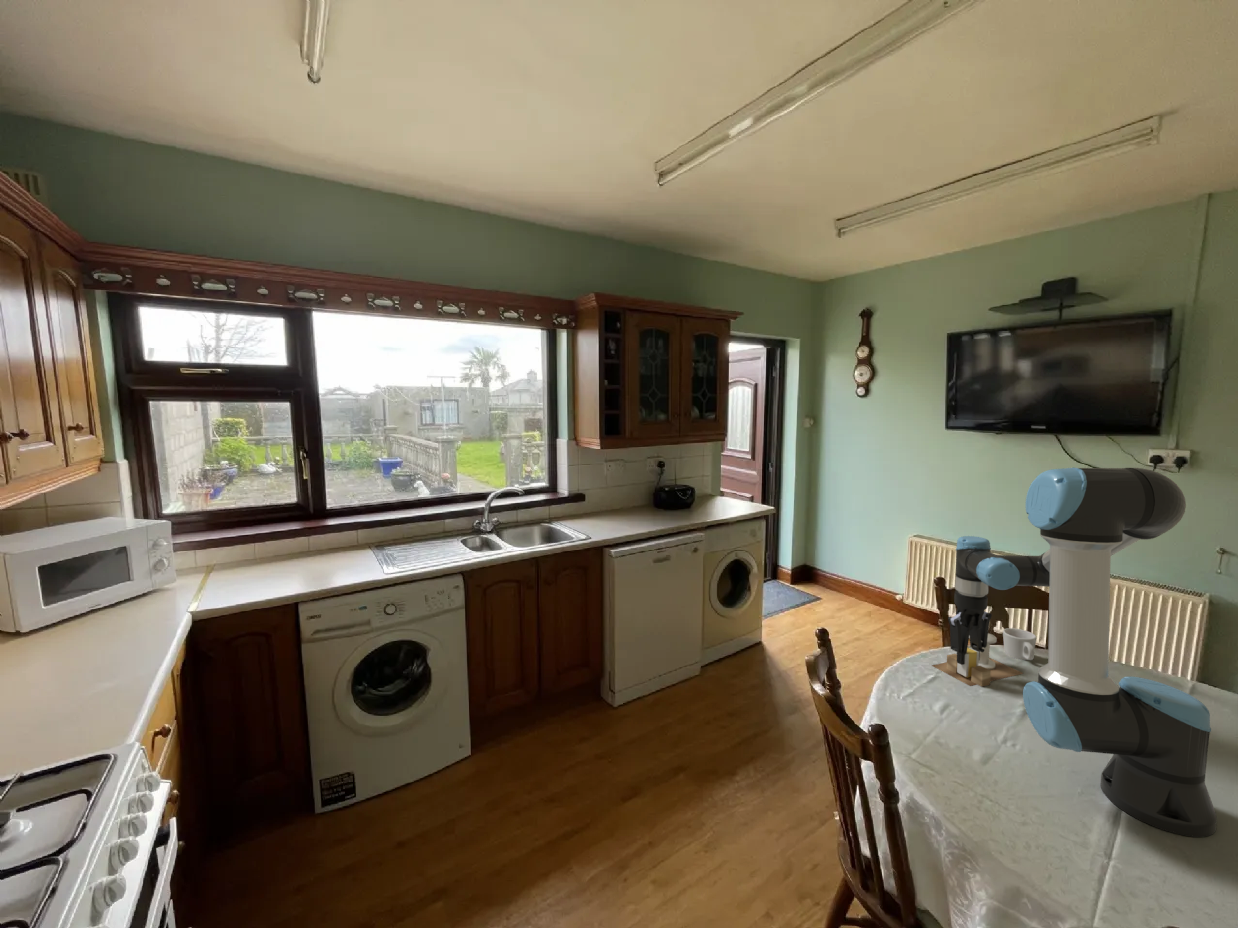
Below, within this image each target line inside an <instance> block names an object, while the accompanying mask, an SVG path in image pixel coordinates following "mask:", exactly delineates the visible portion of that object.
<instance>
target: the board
mask: <svg viewBox="0 0 1238 928" xmlns="http://www.w3.org/2000/svg"><path fill="white" fill-rule="evenodd" d="M989 659H990V660H992V661H993V662H994V663H995V668H994V669H992V670H988V669H986V668H984V667H982V666H976V667H972V674H971V677H968V678H967V677H965V676H963V675H961V674H959V673H957V653H952V654H947V655H946V662H942V663H941V662H940V663H938V664H933V665H932V664H931V667H933V668H935V669H938V670H939V671H941V672H942V673H944V674H947V675H949V676H950V677H952V678H954V679H956V680H958V681H960V682H962V683H963V684H965V685H967V686H969V687H973V686H980V687H981V688H982V687H986V686H989V685H991V682H994V681H998V680H1003V679H1006V678H1010V677H1014V676H1018V675H1023V674H1024V672H1022V671H1020V670H1017V669H1015V668H1014V667H1012V666H1009V665H1006V664H1004V663H1002V662H1000V661H997V660H996V659H994V658H991V657H989Z"/></svg>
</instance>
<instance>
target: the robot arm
mask: <svg viewBox="0 0 1238 928" xmlns="http://www.w3.org/2000/svg"><path fill="white" fill-rule="evenodd" d="M1186 508H1187V504H1186V498H1185V494H1184V493H1183V491H1182V489H1181V488H1180V487H1179V485H1178V484H1177V483H1176V482H1175V481H1173V480H1172V479H1171V478H1170V477H1167V476H1166V475H1164V474H1162V473H1161V472H1157V471H1155V470H1152V469H1147V468H1142V467H1066V468H1065V467H1064V468H1055V469H1048V470H1044V471H1042V472H1041V473H1039V474H1038V475H1037V476H1036V478H1035V479H1034V480H1032V482H1031V484H1030V486H1029V488H1028V490H1027V493H1026V497H1025V512H1026V514H1027V515H1028V516H1027V519H1028V521H1029V522H1030V523H1031V525H1033V526H1034V527H1035V528H1037V529H1039V530H1040V531H1039V532H1040V534H1039V535H1040V537H1041V539H1043V540H1044V541H1046V542H1047V543H1048V544H1049V549H1048V550H1046V551H1045V552H1043V553H1042V554H1041V555H1018V554H1017V555H1012V554H1011V555H1010V554H1004V555H1003V554H995V553H993V552H991V550H992V549H991V542H990V540H989V539H987V538H985V537H980V536H974V535H973V536H972V535H971V536H970V535H964V536H960V537H958V538H957V541H956V547H955V580H954V581H955V585H954V589H955V591H954V597H953V600H954V604H955V606H956V607H957V609H956V612H955V615H954V616H953V617H952V616H949V617H947V618H948V619H947V621H948V623H949V637H950V639H949V640H950V650H952V651H954V652H956V654H957V673H959V674H961V675H963V676H965V677H968V667H969V654H968V653H967V648H970V649H972V650H974V651H976V652H977V659H976V666H979V659H980V652H984V649H982V648H983V647H984V648H986V646H987V638H988V633H989V628H990V622H991V619H992V616H993V614H992V613H990V612H987V611H985V610H986V609H988V603H989V602H988V599H989V597H988V594H989V587H991V588H993V589H996V590H1000V591H1005V590H1006V591H1007V590H1009V589H1012V588H1014V587H1015V586H1021V587H1046V588H1047V587H1049V588H1048V589H1049V590H1048V591H1049V592H1048V593H1049V597H1048V647H1047V648H1048V652H1047V653H1048V654H1047V657H1048V658H1047V659H1048V660H1047V662H1048V663H1045V664H1043V666H1041V667H1038V670H1037V672H1038V673H1037V681H1030V682H1027V683H1026V684H1025V685H1024V686H1023V691H1022V699H1023V705H1024V708H1025V711H1026V715H1027V717H1028V719H1029V721H1030V723H1031V725H1032V727H1033V729H1034V730H1035V732H1036V734H1038V736H1039V737H1040V738H1042V740H1043V741H1044V742H1045V743H1047V744H1048V745H1050V746H1051V747H1053V748H1056V749H1060V750H1061V749H1062V750H1069V751H1073V752H1076V753H1081V752H1084V753H1094V754H1095V753H1098V754H1109V755H1110V754H1111V755H1112V756H1111V758H1110V759H1109V761H1108V762H1107V764H1106V765H1105V767H1104V769H1103V770H1102V772H1101V774H1100V790H1101V791H1102V793H1103V794H1104V795H1105V797H1106V798H1107V799H1108V800H1109V801H1110V802H1111V803H1112V804H1113V805H1115V806H1116V807H1117V808H1119V809H1120V810H1121V811H1123V812H1125V813H1126V814H1128V815H1129V816H1131V817H1134V818H1135V819H1137V820H1139V821H1140V822H1143V823H1146V824H1148V825H1150V826H1152V827H1154V828H1157V829H1160V830H1163V831H1166V832H1169V833H1173V834H1177V835H1179V836H1180V835H1181V836H1185V837H1193V838H1194V837H1195V838H1202V837H1204V838H1205V837H1209V836H1211V835H1213V834H1214V833H1215V832H1216V830H1217V824H1218V823H1217V822H1218V820H1217V813H1216V810H1215V808H1214V804H1213V802H1212V799H1211V796H1210V793H1209V791H1208V787H1207V785H1206V773H1207V772H1206V771H1207V762H1208V761H1207V760H1208V759H1207V758H1208V752H1209V751H1208V750H1209V744H1210V742H1209V741H1210V734H1211V732H1212V728H1211V713H1210V710H1209V709H1208V707H1207V706H1206V705H1205V704H1204V703H1203V702H1202V701H1200V700H1199V699H1198V698H1196V697H1194V696H1193V695H1191V694H1189V693H1187V692H1185V691H1183V690H1180V689H1178V688H1176V687H1173V686H1171V685H1168V684H1165V683H1163V682H1159V681H1156V680H1153V679H1149V678H1143V677H1137V676H1132V675H1131V676H1124V677H1122V678H1121V679H1120V681H1119V682H1118V683H1116V682H1115V681H1114V680H1113V678H1111V677H1110V676H1109V663H1110V662H1109V658H1110V657H1109V655H1110V653H1109V651H1110V608H1111V607H1110V606H1111V605H1110V604H1111V603H1110V602H1111V560H1112V559H1111V556H1112V557H1113V556H1114V555H1115V554H1117V553H1119V552H1121V551H1123V550H1124V549H1126V548H1127V547H1129V546H1132V545H1133V544H1135V543H1137V542H1138V541H1140V540H1145V541H1147V540H1153V539H1155V538H1156V539H1157V538H1158V537H1160V536H1162V535H1163V534H1165V533H1167V532H1169V531H1170V530H1172V529H1173V528H1174V527H1176V526H1177V525H1178V523H1180V522H1181V520H1182V518H1184V514H1185V513H1186ZM969 635H970V639H969ZM981 641H982V642H981ZM969 644H970V645H969ZM968 646H970V647H968Z"/></svg>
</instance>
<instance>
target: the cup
mask: <svg viewBox="0 0 1238 928" xmlns="http://www.w3.org/2000/svg"><path fill="white" fill-rule="evenodd" d="M1002 637H1003V650H1004V654H1005V655H1006V656H1008V657H1010V658H1012V659H1016V660H1021V661H1033V659H1034V658H1035V648H1036V645H1037V644H1036V642H1037V636H1036V634H1035V633H1032V632H1030V631H1028V630H1024V629H1021V628H1014V627H1010V628H1004V629H1003V630H1002Z"/></svg>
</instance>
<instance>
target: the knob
mask: <svg viewBox="0 0 1238 928" xmlns="http://www.w3.org/2000/svg"><path fill="white" fill-rule="evenodd" d="M969 640H970V635H969ZM981 642H982V641H981ZM996 643H997V637H996V636H995V635H994V634H992V633H989V632H988V638H987V646H986V648H984V647H983V648H982V649H984V652H980V659H979V666H982V667H984V668H986V669H988V670H992V669H994V668H995V663H994V662H993V661H992V660H990V659H989V658H990V650H991V649H990V648H991V645H993V644H996Z"/></svg>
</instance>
